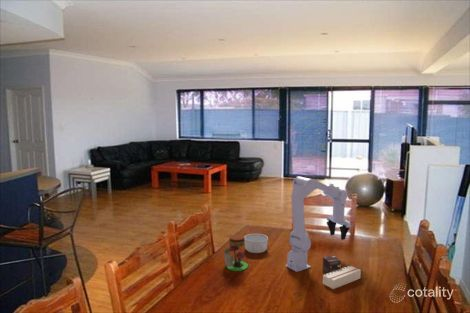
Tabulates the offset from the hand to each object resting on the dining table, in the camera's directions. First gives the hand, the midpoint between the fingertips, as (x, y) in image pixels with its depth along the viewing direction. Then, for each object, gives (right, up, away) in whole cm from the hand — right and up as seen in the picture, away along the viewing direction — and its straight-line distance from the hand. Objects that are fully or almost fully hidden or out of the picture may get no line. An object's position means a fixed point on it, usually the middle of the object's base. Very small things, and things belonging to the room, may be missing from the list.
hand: (337, 237), depth 198 cm
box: (-8, -13, -20) cm, 25 cm away
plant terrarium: (-53, -12, -11) cm, 55 cm away
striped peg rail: (-6, -14, -28) cm, 31 cm away
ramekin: (-42, -9, +10) cm, 44 cm away
